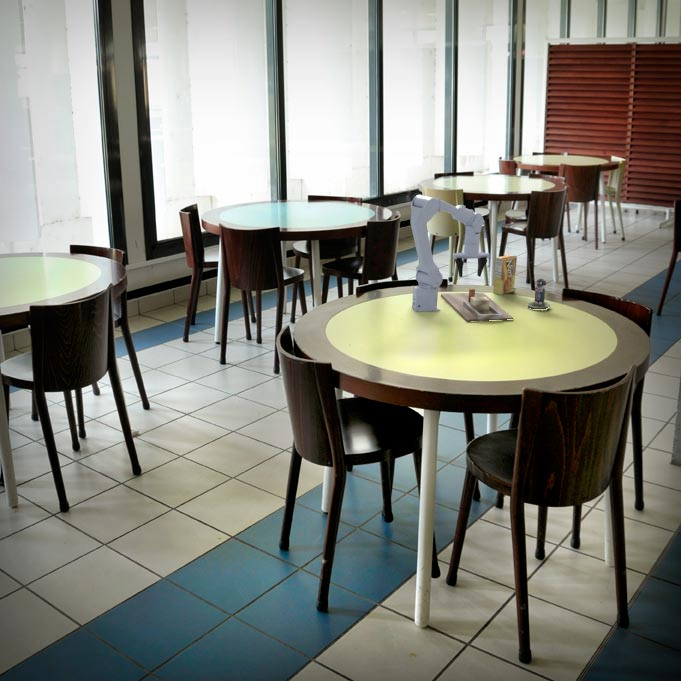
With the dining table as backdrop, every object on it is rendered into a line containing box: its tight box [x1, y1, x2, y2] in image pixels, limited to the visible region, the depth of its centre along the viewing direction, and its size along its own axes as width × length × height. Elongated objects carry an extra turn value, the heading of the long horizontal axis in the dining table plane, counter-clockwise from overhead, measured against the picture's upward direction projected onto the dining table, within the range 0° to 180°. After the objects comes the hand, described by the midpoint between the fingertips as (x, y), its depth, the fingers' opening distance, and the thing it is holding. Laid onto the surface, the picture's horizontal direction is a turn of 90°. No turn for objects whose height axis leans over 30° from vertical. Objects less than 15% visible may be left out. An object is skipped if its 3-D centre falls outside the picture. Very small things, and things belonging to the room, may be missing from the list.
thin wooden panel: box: [440, 292, 514, 323], centre depth 331 cm, size 18×36×2 cm, turn 9°
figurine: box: [527, 278, 551, 310], centre depth 330 cm, size 8×8×12 cm
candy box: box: [492, 254, 518, 296], centre depth 351 cm, size 9×4×15 cm, turn 129°
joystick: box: [468, 287, 490, 311], centre depth 330 cm, size 6×14×5 cm, turn 9°
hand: (469, 276), depth 337 cm, fingers open, 7 cm apart
